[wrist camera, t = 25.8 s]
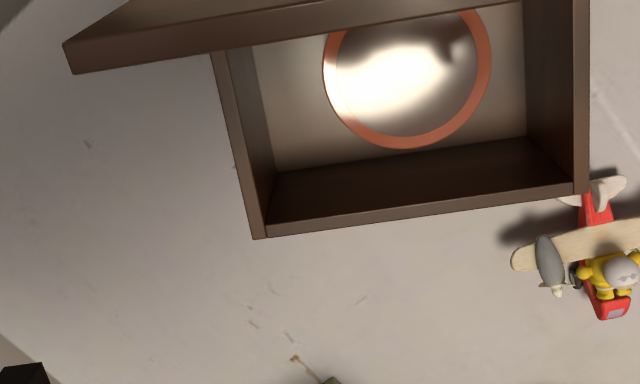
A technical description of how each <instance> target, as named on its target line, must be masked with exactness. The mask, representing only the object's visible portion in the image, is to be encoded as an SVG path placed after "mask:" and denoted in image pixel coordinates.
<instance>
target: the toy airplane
mask: <svg viewBox="0 0 640 384" xmlns="http://www.w3.org/2000/svg"><path fill="white" fill-rule="evenodd" d="M626 183H627V178H626V177H625V176H624V175H614V176H609V177H605V178H600V179H596V180H590V181H589V193H588V194H581V195H573V196H566V197H559V198H555V199H556V200H557V201H559V202H561V203H564V204H567V205H571V206H579V228H577V229H574V230H571V231H568V232H565V233H562V234H558V235H556V236H552V237H548V236H546V235H544V234H542V235H539V236H538V237H537V241H536V242H534V243H531V244H528V245H525V246H522V247H519V248H517V249H516V250H515V251H514V252H513V254H512V256H511V259H510V264H511V267H512V269H513V270H515V271H518V272H523V271H529V270H534V269H538V270H539V273H540V276H541V278H542V280H543V283H541V284H539V287H550V288H551V289H552V293H553V295H554V296H555V297H557V298H560V297H561V296H562V293H563V290H562V286H573V288H575V289H581V287H582V286H583V285H584V287H585V289H586V291H587V294H588V296H589V299H590V301H591V303H592V306H593V308H594V311H595V313H596V316H597V318H598V319H599V320H608V319H613V318H617V317H621V316H623V315H624V314H625V313H626V312H627V310H628V308H629V306H630V302H631V298H630V297H629V296H627V295H628V294H630V293H631V292H632V289H631V288H632V287H634V286H635V285H636V284H637V283H638V281H639V279H640V269H639V267H638V265H640V252H639V251H638V249H637V248H640V216H639V217H630V218H622V219H616V220H614V217H613V214H612V210H611V207H610V204H609V201H608V200H609V199H611V198H613V197H614V196H616V195H617V194H618V193H619V192H620V191H621V190H622V189H623V188H624V187H625V185H626ZM632 249H635V250H634V251H632V252H631V253H629V254H628V255H627V256H626V255H625V254H624V252H623V251H626V250H632ZM574 261H579V267H578V268H577V270H576V271H575V270H570V272H569V276H570V281H571V284H566V283H565V282H564V281H565V270H564V266H563V264H564V263H569V262H574Z"/></svg>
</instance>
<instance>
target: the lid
mask: <svg viewBox="0 0 640 384" xmlns="http://www.w3.org/2000/svg"><path fill="white" fill-rule="evenodd" d="M520 1H526V0H130V1H129V2H127V3H126V4H124V5H122V6H121V7H119V8H118V9H116V10H114V11H113V12H111V13H110V14H108V15H106V16H105V17H103V18H102V19H100V20H98V21H97V22H95V23H94V24H92V25H90V26H89V27H87V28H86V29H84V30H82V31H81V32H79V33H78V34H76V35H74V36H73V37H71V38H70V39H68V40H66V41H65V42H63V43H62V47H63V50H64V53H65V55H66V58H67V61H68V64H69V67H70V69H71V72H72V74H73V75H81V74H87V73H93V72H99V71H105V70H111V69H117V68H123V67H129V66H135V65H141V64H147V63H153V62H159V61H165V60H171V59H177V58H183V57H189V56H195V55H201V54H207V53H213V52H219V51H225V50H231V49H237V48H243V47H249V46H255V45H261V44H267V43H274V42H280V41H286V40H292V39H298V38H304V37H310V36H316V35H322V34H328V33H334V32H340V31H346V30H352V29H358V28H364V27H370V26H376V25H382V24H388V23H394V22H400V21H406V20H412V19H418V18H424V17H430V16H436V15H442V14H448V13H454V12H460V11H466V10H472V9H478V8H484V7H490V6H496V5H502V4H508V3H514V2H520Z"/></svg>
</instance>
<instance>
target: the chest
mask: <svg viewBox="0 0 640 384" xmlns="http://www.w3.org/2000/svg"><path fill="white" fill-rule="evenodd" d="M475 11H476V12H477V13H478V15H479V16H480V18H481V20H482V22H483V24H484V26H485V28H486V31H487V33H488V37H489V41H490V45H491V54H492V65H491V73H490V79H489V83H488V86H487V89H486V92H485V94H484V96H483V99H482V101H481V102H480V104H479V106H478V107H477V109H476V110H475V112H474V113H473V114H472V115H471V117H470V118H469V119H468V120H467V121H466V122H465V123H464V124H463V125H462V126H461V127H460V128H458V129H457V130H456V131H455V132H453V133H452V134H450V135H449V136H447V137H445V138H444V139H442V140H439V141H437V142H435V143H432V144H429V145H426V146H422V147H417V148H409V149H395V148H388V147H383V146H379V145H376V144H373V143H371V142H368V141H366V140H364V139H362V138H361V137H359V136H358V135H356V134H355V133H353V132H352V131H351V130H350V129H348V128H347V127H346V126H345V125H344V124H343V123H342V121H341V120H340V119H339V118H338V116H337V115H336V114H335V112H334V111H333V109H332V107H331V105H330V103H329V101H328V98H327V96H326V93H325V90H324V85H323V80H322V56H323V45H324V34H322V35H316V36H310V37H304V38H298V39H292V40H286V41H280V42H274V43H267V44H261V45H255V46H249V47H243V48H237V49H231V50H225V51H219V52H213V53H210V57H211V62H212V66H213V70H214V75H215V79H216V83H217V88H218V92H219V96H220V101H221V105H222V109H223V114H224V118H225V122H226V127H227V131H228V135H229V140H230V144H231V148H232V153H233V157H234V161H235V166H236V170H237V174H238V179H239V183H240V187H241V192H242V196H243V200H244V205H245V209H246V213H247V218H248V222H249V226H250V231H251V235H252V239H253V240H259V239H266V238H273V237H281V236H288V235H295V234H302V233H309V232H316V231H323V230H331V229H338V228H345V227H352V226H359V225H366V224H373V223H380V222H388V221H395V220H402V219H409V218H416V217H423V216H430V215H438V214H445V213H452V212H459V211H466V210H473V209H480V208H488V207H495V206H502V205H509V204H516V203H523V202H530V201H538V200H545V199H552V198H559V197H566V196H573V195H581V194H588V193H589V127H590V0H526V1H520V2H514V3H508V4H502V5H496V6H490V7H484V8H478V9H475Z"/></svg>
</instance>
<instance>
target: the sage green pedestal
mask: <svg viewBox="0 0 640 384" xmlns="http://www.w3.org/2000/svg"><path fill="white" fill-rule="evenodd" d="M323 384H340V383H339V382H338V381H337V380H336V379H335V378H334V377H333V378H331V379H329V380H328V381H326V382H325V383H323Z"/></svg>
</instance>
